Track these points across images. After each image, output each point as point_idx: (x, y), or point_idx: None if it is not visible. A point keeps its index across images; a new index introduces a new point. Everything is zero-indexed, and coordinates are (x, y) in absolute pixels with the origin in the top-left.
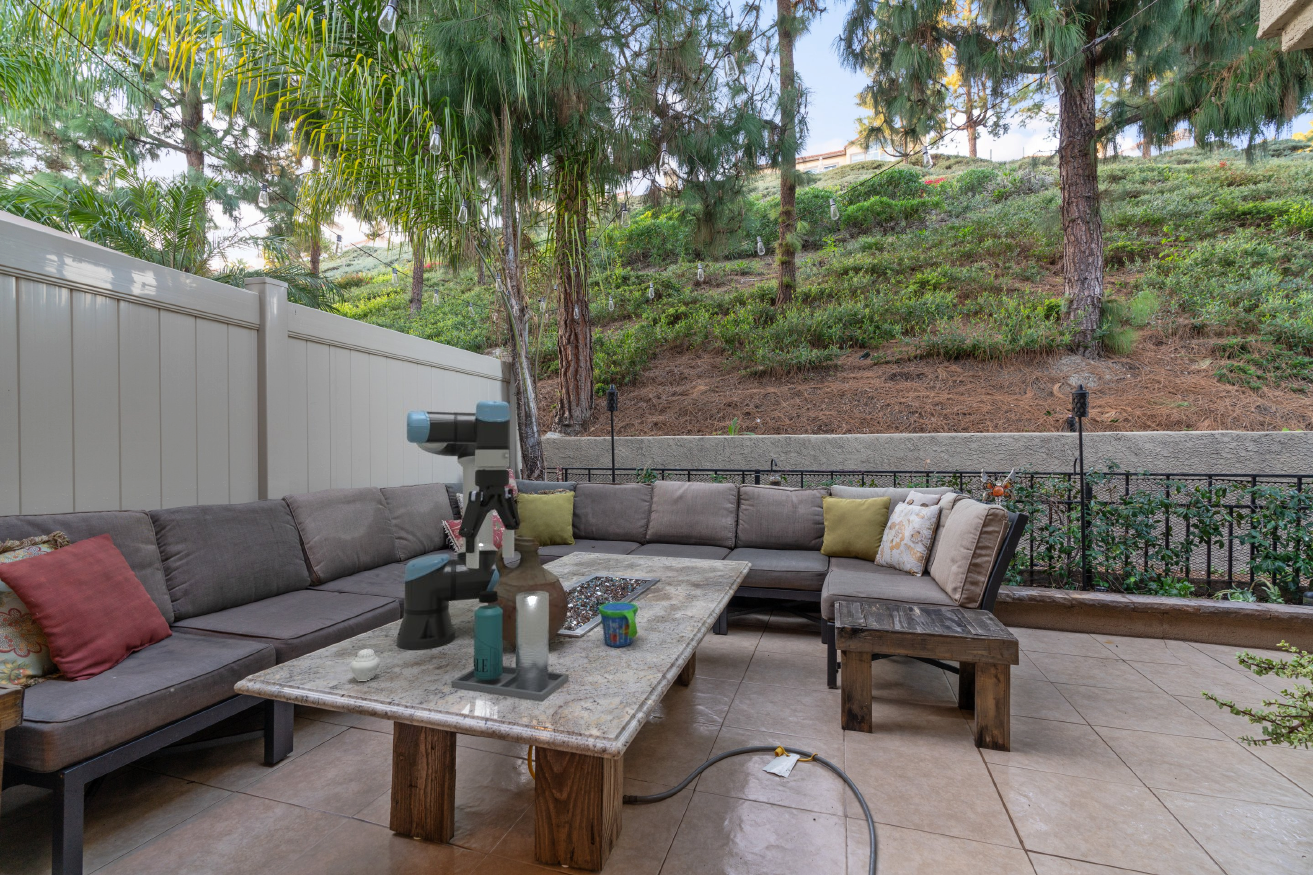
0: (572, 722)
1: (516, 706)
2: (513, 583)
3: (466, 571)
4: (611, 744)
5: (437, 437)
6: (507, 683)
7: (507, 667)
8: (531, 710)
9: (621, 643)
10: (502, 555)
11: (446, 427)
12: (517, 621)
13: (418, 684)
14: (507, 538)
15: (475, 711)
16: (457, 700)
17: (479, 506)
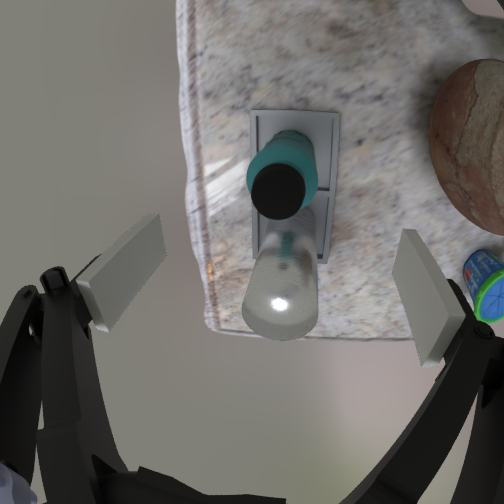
0: (232, 292)
1: (244, 222)
2: (497, 148)
3: None
4: (210, 328)
5: None
6: None
7: (331, 165)
8: (241, 244)
9: (464, 278)
10: (405, 232)
11: None
12: (257, 263)
13: (260, 43)
14: (421, 307)
15: (213, 181)
16: (232, 136)
17: (33, 455)
